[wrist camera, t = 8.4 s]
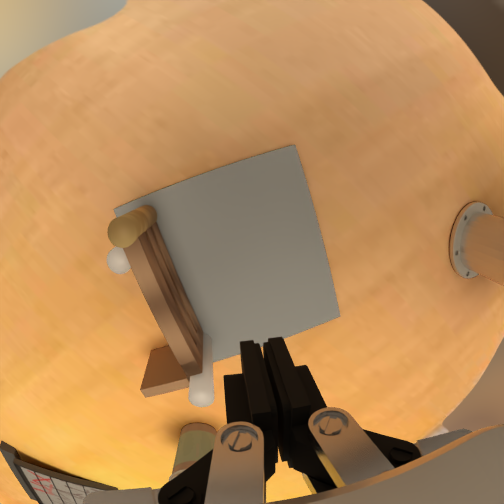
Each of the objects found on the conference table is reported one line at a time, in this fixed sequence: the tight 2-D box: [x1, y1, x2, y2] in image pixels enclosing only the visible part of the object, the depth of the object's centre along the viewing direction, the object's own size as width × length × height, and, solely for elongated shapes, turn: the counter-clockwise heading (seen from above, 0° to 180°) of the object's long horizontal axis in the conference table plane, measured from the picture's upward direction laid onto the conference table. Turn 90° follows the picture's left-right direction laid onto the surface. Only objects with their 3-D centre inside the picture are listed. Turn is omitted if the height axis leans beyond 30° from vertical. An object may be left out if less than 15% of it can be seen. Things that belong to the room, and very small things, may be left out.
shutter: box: [0, 441, 118, 504], centre depth 43 cm, size 32×7×31 cm
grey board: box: [107, 145, 340, 407], centre depth 28 cm, size 24×22×11 cm
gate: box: [108, 205, 203, 377], centre depth 27 cm, size 16×2×9 cm, turn 18°
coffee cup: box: [169, 423, 217, 481], centre depth 34 cm, size 8×8×12 cm
